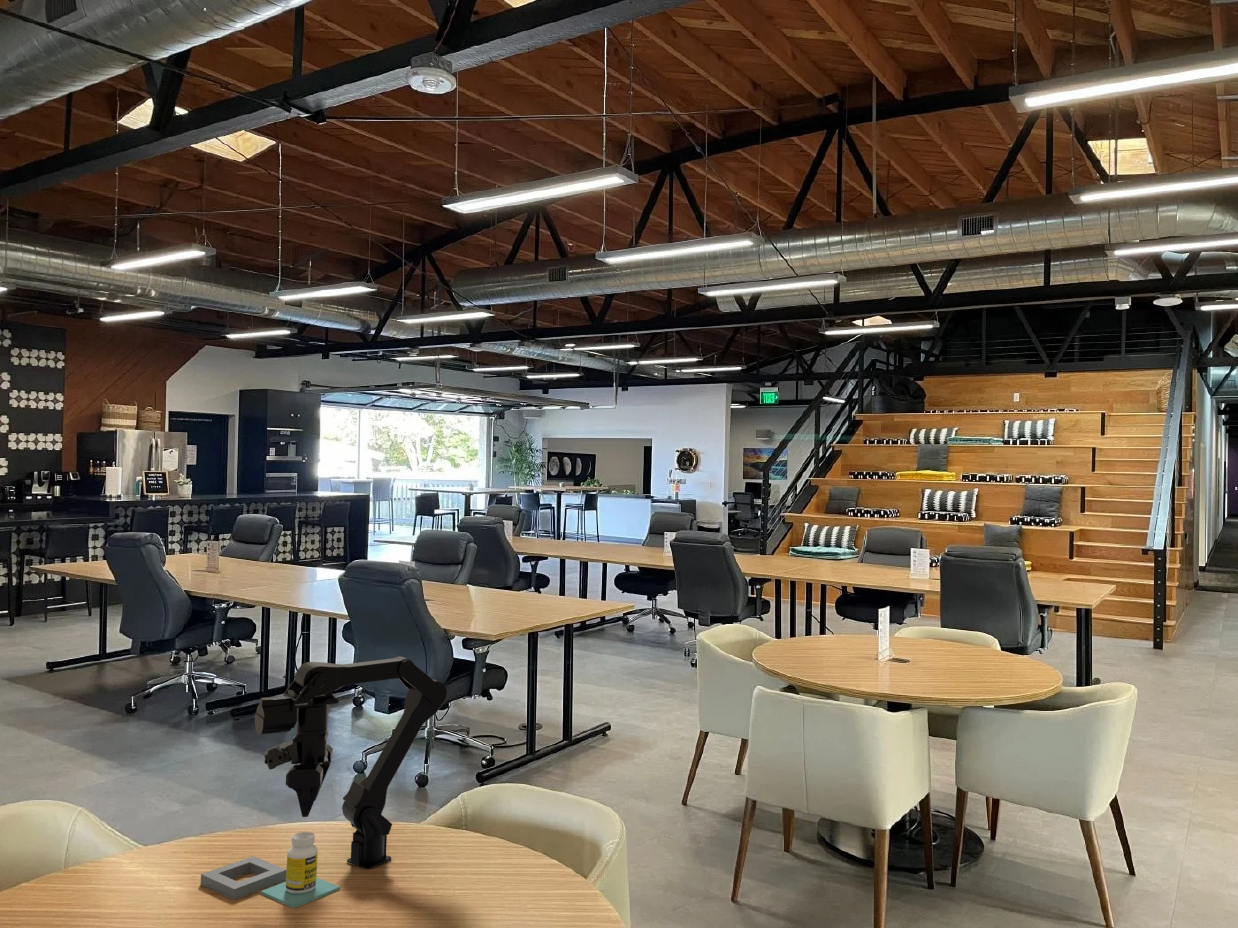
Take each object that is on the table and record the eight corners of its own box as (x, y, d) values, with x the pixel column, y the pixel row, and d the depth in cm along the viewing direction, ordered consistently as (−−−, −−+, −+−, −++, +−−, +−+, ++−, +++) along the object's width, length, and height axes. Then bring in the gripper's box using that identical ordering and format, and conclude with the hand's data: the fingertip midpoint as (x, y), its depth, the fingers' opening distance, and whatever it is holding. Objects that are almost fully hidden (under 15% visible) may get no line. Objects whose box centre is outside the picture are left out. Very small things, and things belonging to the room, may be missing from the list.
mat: (306, 875, 174) (306, 873, 174) (339, 889, 169) (339, 886, 169) (261, 893, 166) (261, 890, 166) (294, 908, 160) (294, 905, 160)
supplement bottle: (306, 896, 164) (308, 842, 165) (279, 893, 165) (281, 839, 166) (321, 884, 170) (323, 831, 170) (296, 881, 171) (297, 829, 171)
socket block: (252, 865, 179) (253, 855, 179) (286, 879, 172) (286, 869, 172) (200, 884, 169) (200, 873, 170) (234, 900, 163) (234, 888, 163)
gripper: (278, 717, 183) (275, 794, 183) (258, 741, 165) (255, 827, 164) (334, 716, 185) (331, 792, 185) (321, 739, 167) (318, 824, 166)
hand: (309, 808), depth 175 cm, fingers open, 9 cm apart
